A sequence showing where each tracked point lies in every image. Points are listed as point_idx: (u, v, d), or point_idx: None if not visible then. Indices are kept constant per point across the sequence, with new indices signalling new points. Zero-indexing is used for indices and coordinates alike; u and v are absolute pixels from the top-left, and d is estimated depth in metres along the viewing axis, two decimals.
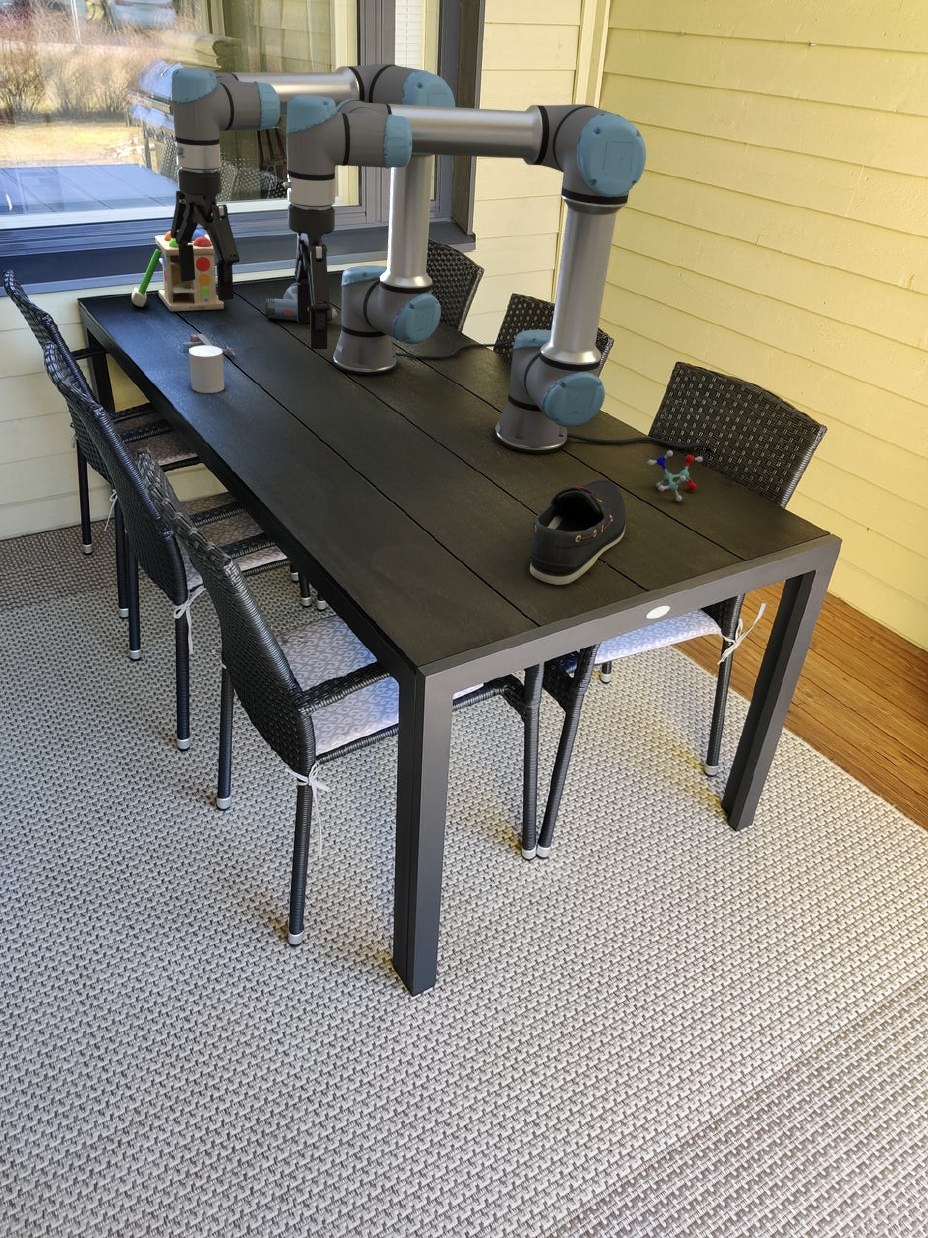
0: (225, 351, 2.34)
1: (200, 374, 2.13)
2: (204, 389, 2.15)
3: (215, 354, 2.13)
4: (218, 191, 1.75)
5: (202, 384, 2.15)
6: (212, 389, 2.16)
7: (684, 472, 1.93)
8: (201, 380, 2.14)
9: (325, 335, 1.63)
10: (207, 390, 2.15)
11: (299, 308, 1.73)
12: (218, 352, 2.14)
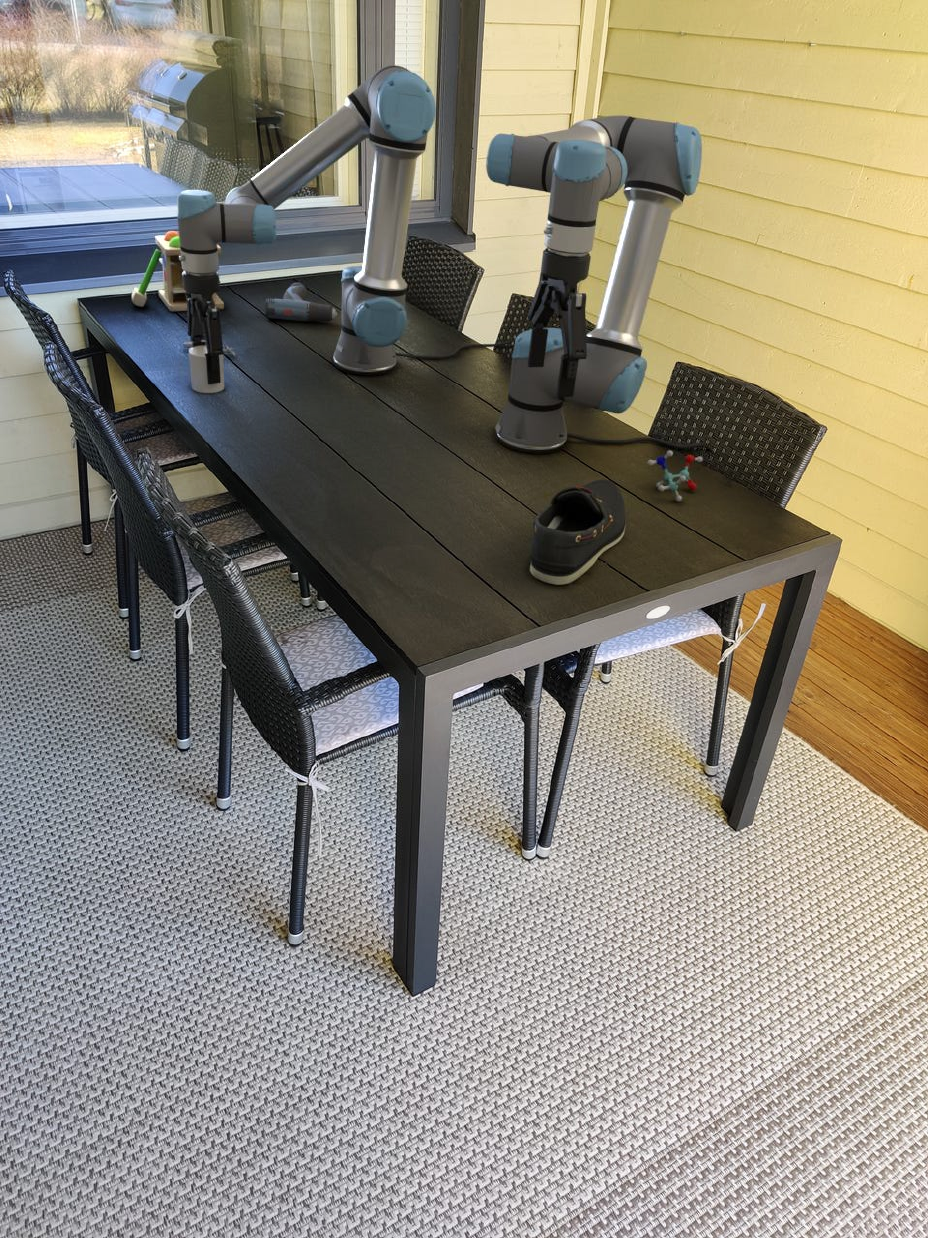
0: (225, 351, 2.34)
1: (200, 374, 2.13)
2: (204, 389, 2.15)
3: None
4: (215, 291, 2.05)
5: (202, 384, 2.15)
6: (213, 389, 2.16)
7: (684, 472, 1.93)
8: (201, 380, 2.14)
9: (573, 383, 1.58)
10: (207, 390, 2.15)
11: (532, 352, 1.68)
12: None
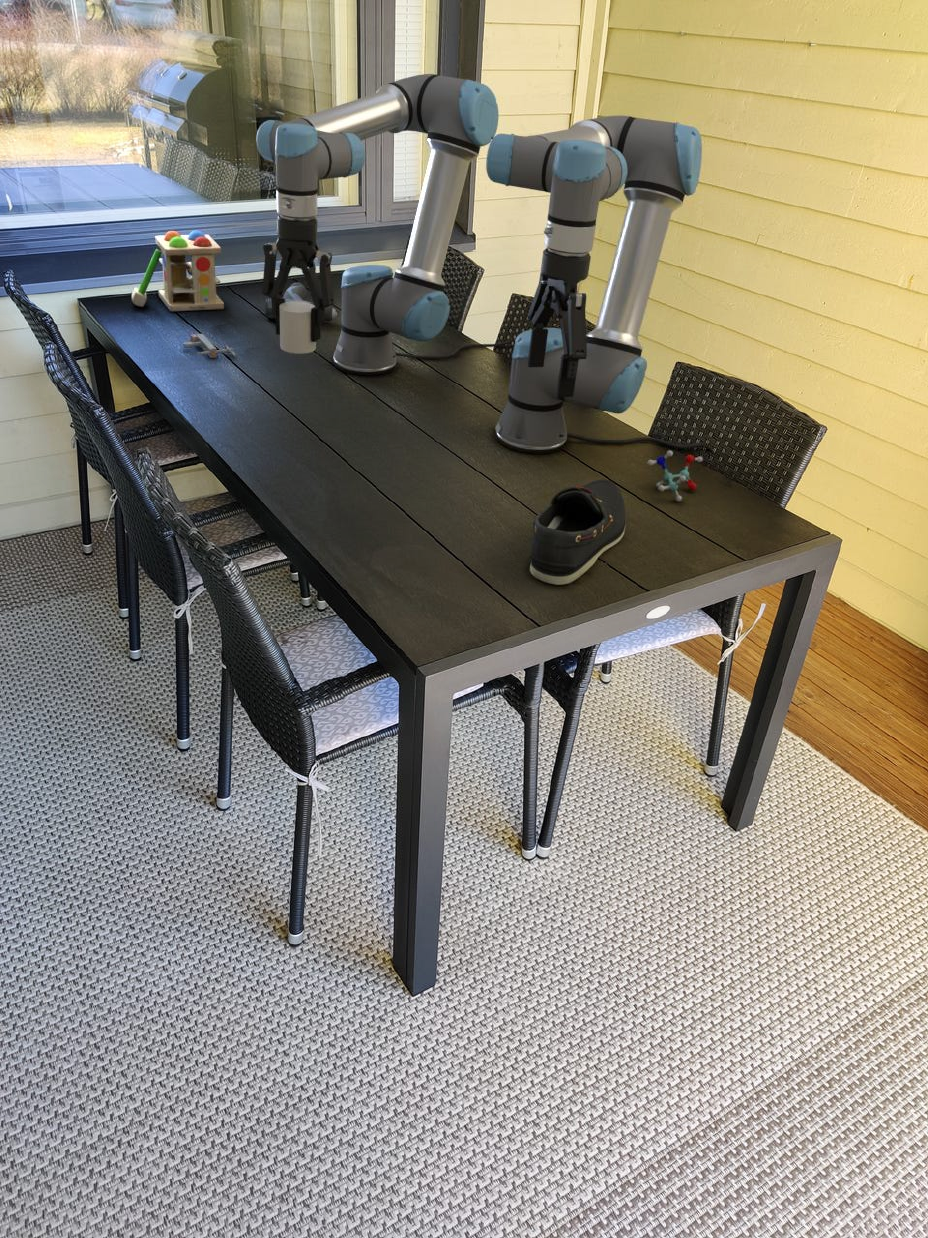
0: (225, 351, 2.34)
1: (303, 332, 1.94)
2: (306, 349, 1.96)
3: None
4: None
5: (305, 343, 1.95)
6: (313, 347, 1.97)
7: (684, 472, 1.93)
8: (304, 339, 1.95)
9: (573, 383, 1.58)
10: (309, 349, 1.97)
11: (532, 352, 1.68)
12: (311, 306, 1.95)
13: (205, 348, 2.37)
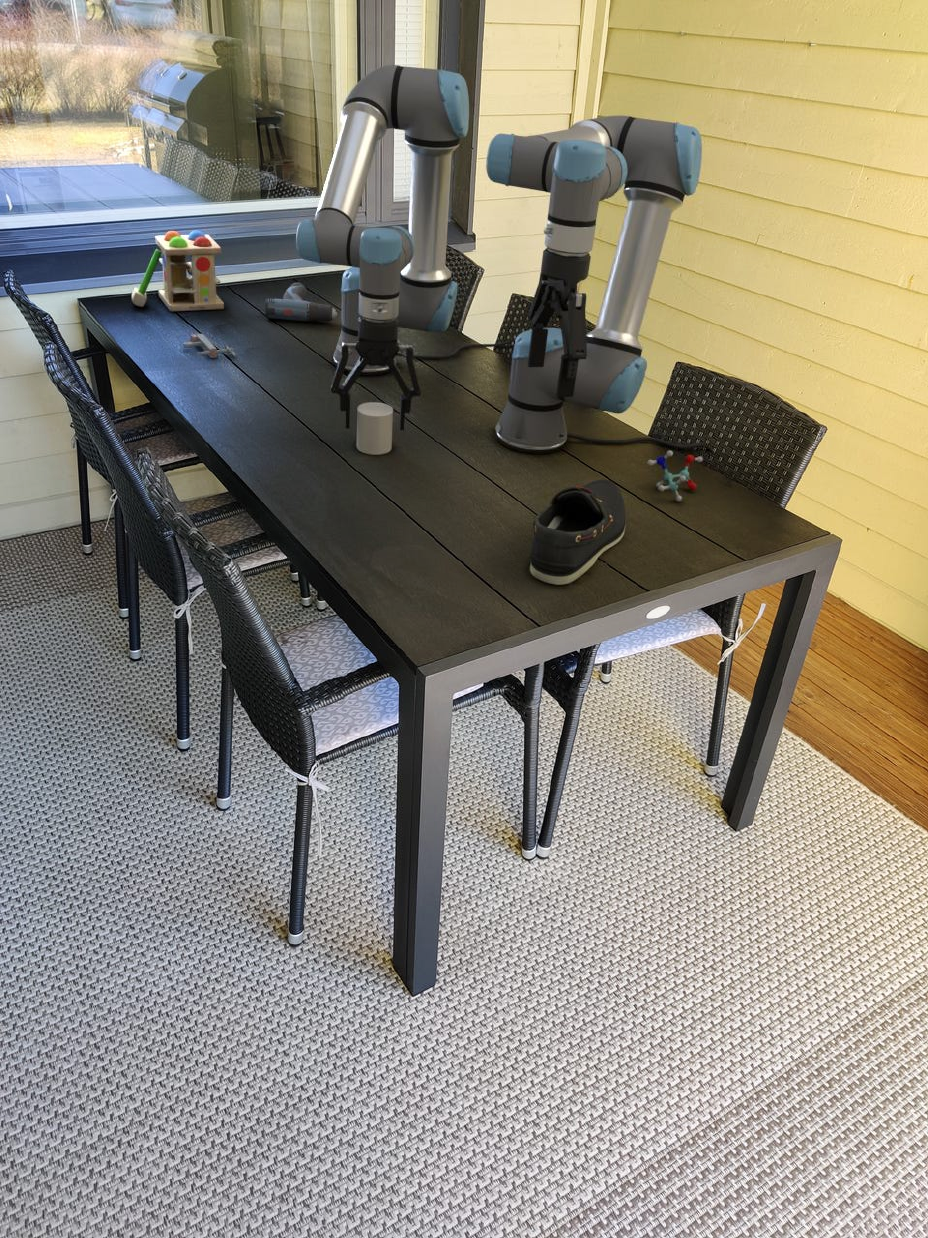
0: (225, 351, 2.34)
1: (388, 433, 1.96)
2: (389, 448, 1.98)
3: (389, 407, 1.97)
4: None
5: (388, 443, 1.97)
6: (391, 444, 2.00)
7: (684, 472, 1.93)
8: (388, 439, 1.97)
9: (573, 383, 1.58)
10: (390, 447, 1.99)
11: (532, 352, 1.68)
12: (385, 405, 1.97)
13: (205, 348, 2.37)
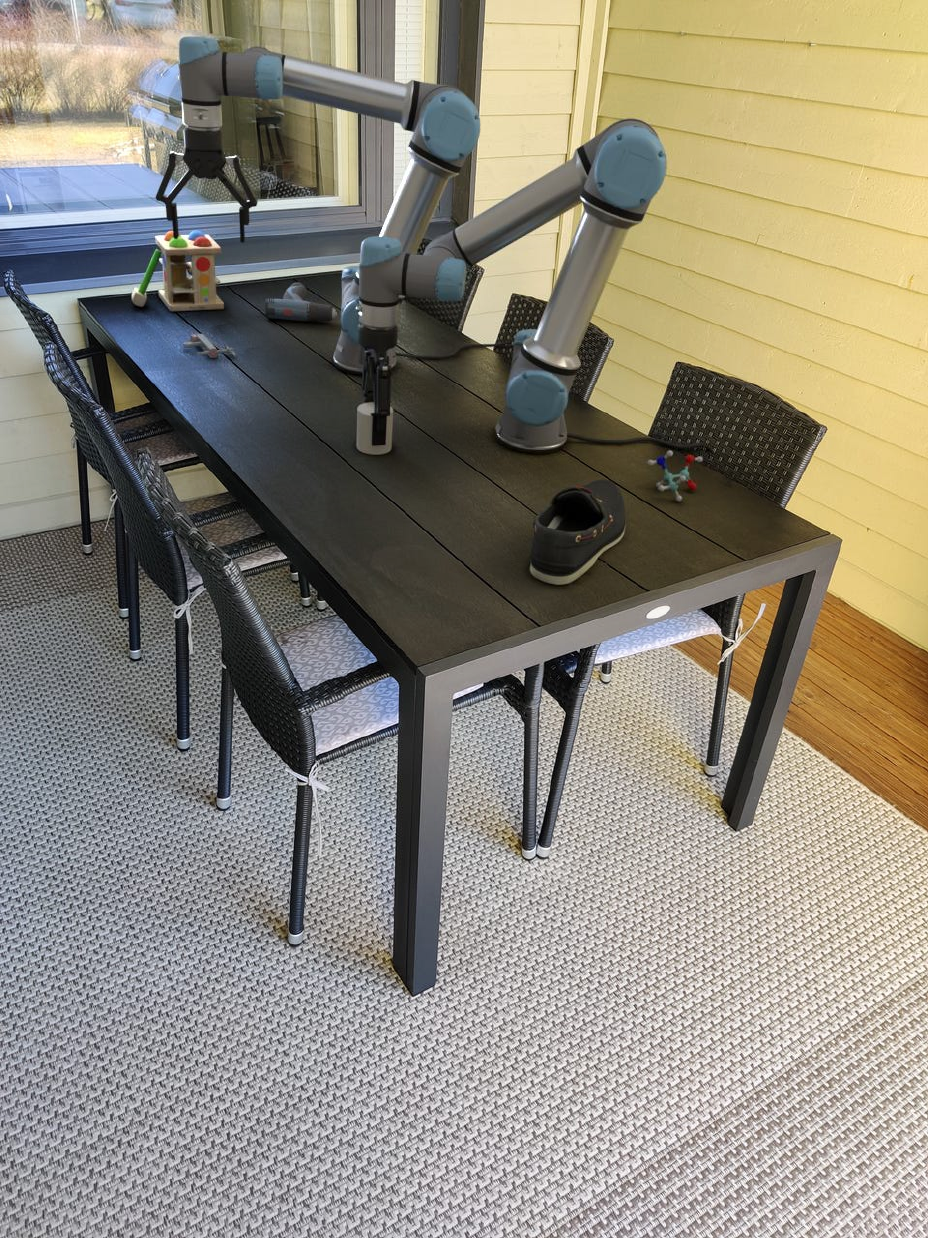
0: (225, 351, 2.34)
1: (388, 433, 1.96)
2: (389, 448, 1.98)
3: None
4: None
5: (388, 443, 1.97)
6: (391, 444, 2.00)
7: (684, 472, 1.93)
8: (388, 439, 1.97)
9: (384, 434, 1.94)
10: (390, 447, 1.99)
11: None
12: None
13: (205, 348, 2.37)
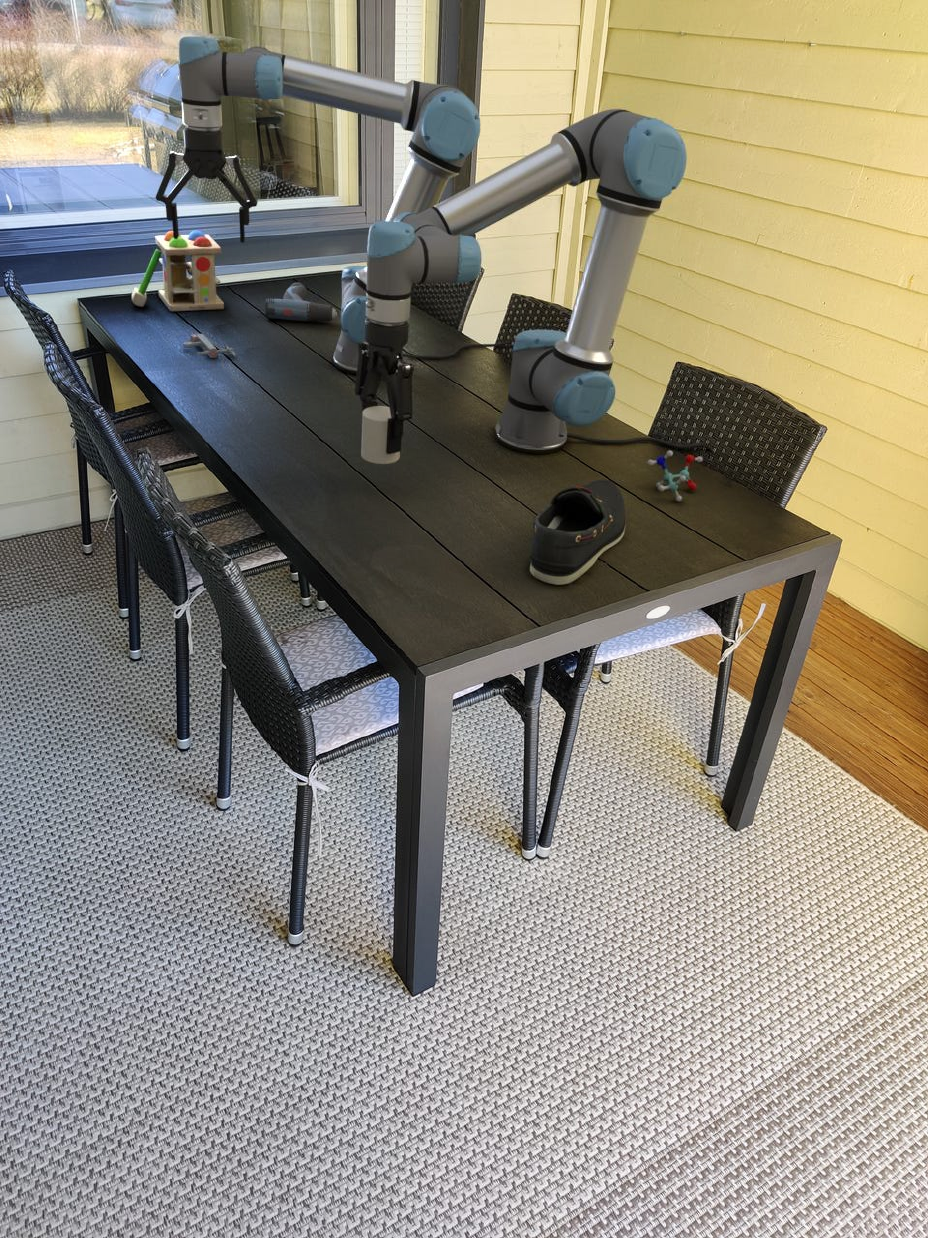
0: (225, 351, 2.34)
1: None
2: (399, 454, 1.80)
3: None
4: None
5: None
6: None
7: (684, 472, 1.93)
8: None
9: (400, 440, 1.76)
10: None
11: None
12: (388, 408, 1.79)
13: (205, 348, 2.37)
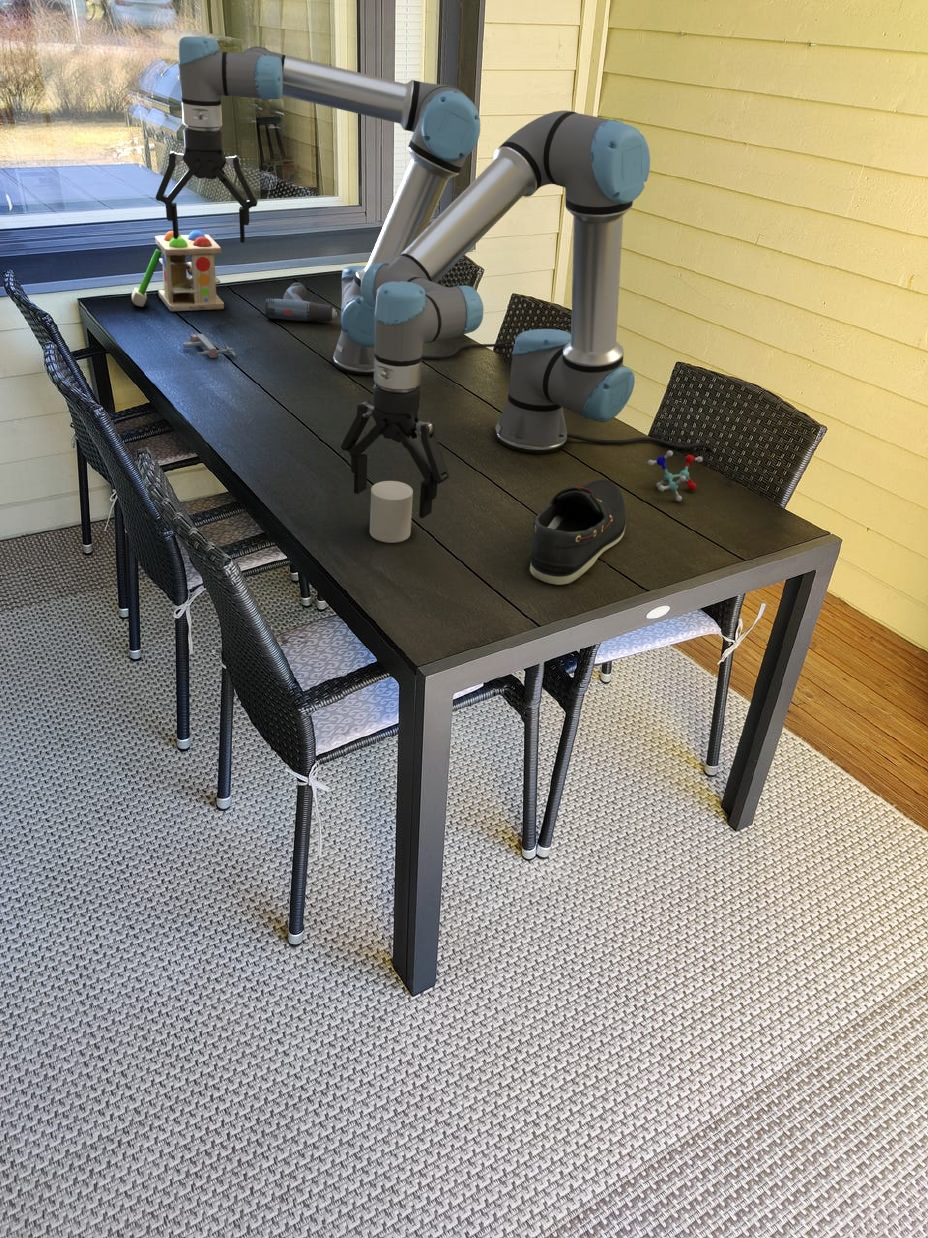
0: (225, 351, 2.34)
1: None
2: None
3: (398, 483, 1.69)
4: None
5: None
6: None
7: (684, 472, 1.93)
8: None
9: (431, 501, 1.65)
10: None
11: (358, 480, 1.69)
12: (392, 482, 1.69)
13: (205, 348, 2.37)
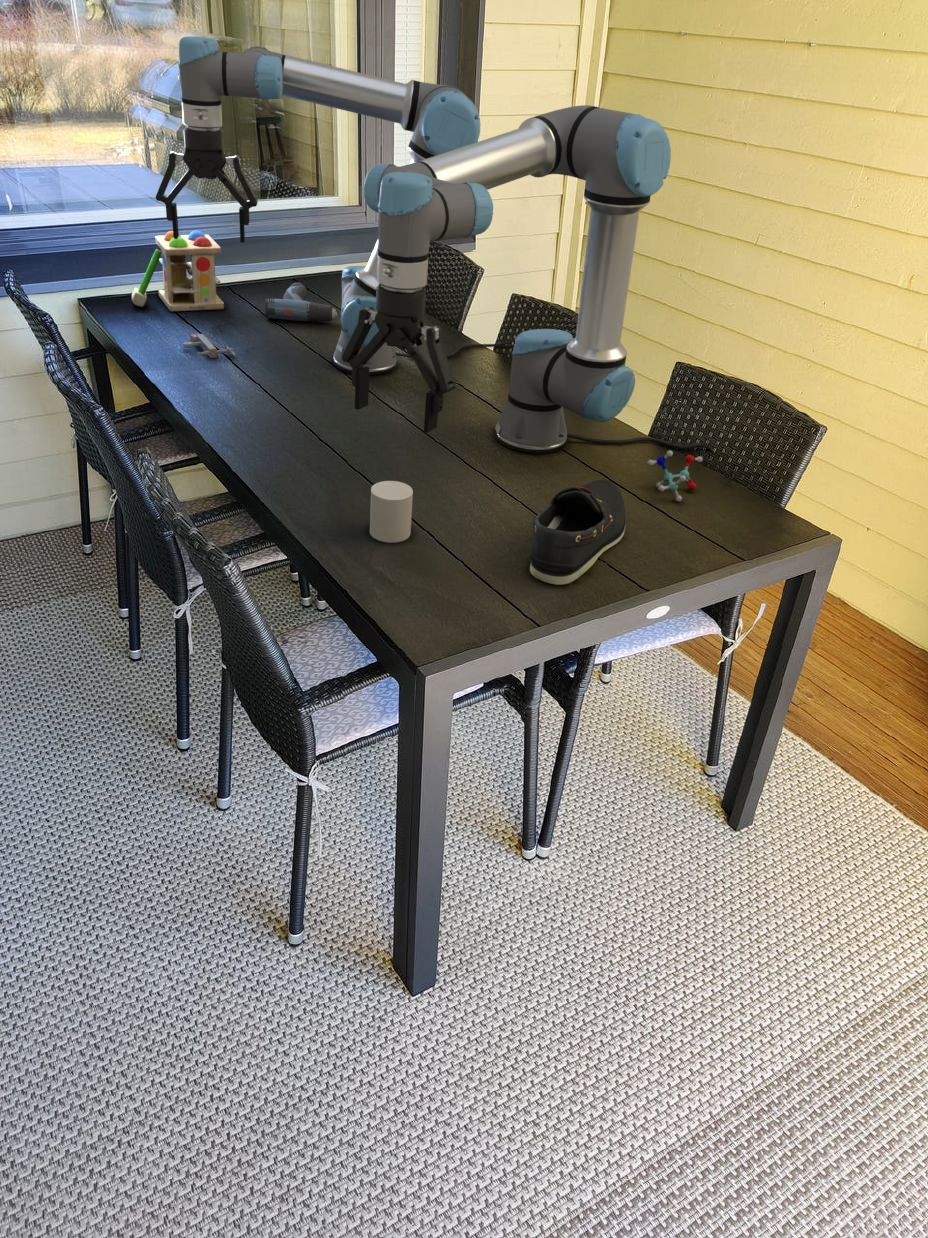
0: (225, 351, 2.34)
1: None
2: None
3: (398, 483, 1.69)
4: None
5: None
6: None
7: (684, 472, 1.93)
8: None
9: (436, 414, 1.56)
10: None
11: (359, 394, 1.60)
12: (392, 482, 1.69)
13: (205, 348, 2.37)
